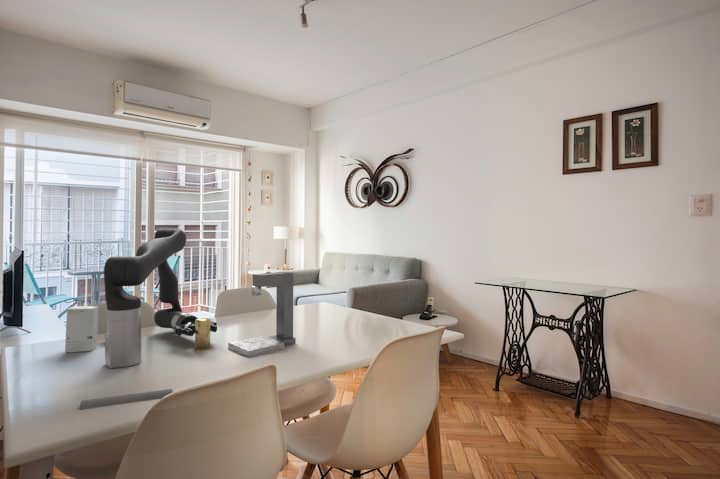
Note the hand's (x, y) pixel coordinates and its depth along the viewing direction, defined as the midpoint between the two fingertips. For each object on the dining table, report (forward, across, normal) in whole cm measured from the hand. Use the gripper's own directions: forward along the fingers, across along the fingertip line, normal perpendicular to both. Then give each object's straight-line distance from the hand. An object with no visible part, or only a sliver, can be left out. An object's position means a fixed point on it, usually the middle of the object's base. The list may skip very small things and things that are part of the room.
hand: (204, 331), depth 146 cm
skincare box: (-27, -31, +6) cm, 42 cm away
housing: (-1, 0, +6) cm, 6 cm away
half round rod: (+30, -33, +7) cm, 45 cm away
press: (+10, +16, +6) cm, 20 cm away
